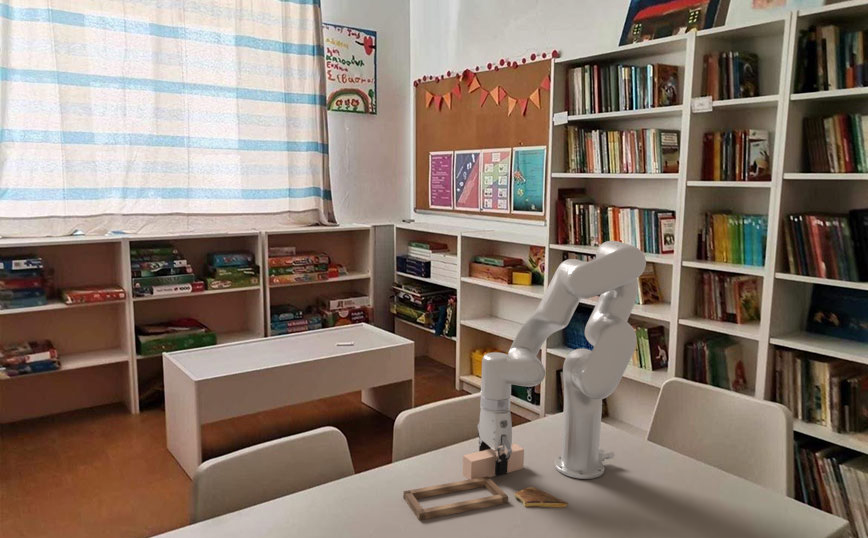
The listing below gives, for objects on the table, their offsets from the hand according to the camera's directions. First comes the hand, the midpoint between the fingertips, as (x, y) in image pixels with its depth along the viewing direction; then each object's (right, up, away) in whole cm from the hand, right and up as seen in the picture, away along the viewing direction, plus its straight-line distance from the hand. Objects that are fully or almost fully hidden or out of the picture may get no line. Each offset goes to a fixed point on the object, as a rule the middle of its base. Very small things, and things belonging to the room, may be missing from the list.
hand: (492, 466), depth 164 cm
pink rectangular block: (0, -2, 0) cm, 2 cm away
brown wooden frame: (-10, -3, -14) cm, 18 cm away
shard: (+10, -4, -13) cm, 17 cm away
